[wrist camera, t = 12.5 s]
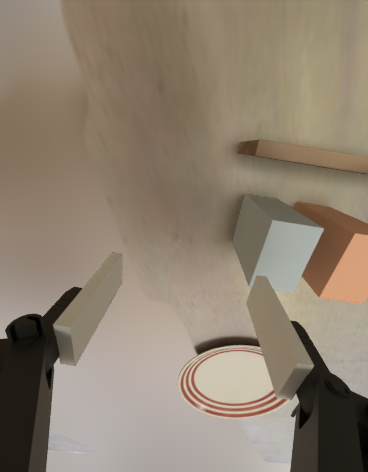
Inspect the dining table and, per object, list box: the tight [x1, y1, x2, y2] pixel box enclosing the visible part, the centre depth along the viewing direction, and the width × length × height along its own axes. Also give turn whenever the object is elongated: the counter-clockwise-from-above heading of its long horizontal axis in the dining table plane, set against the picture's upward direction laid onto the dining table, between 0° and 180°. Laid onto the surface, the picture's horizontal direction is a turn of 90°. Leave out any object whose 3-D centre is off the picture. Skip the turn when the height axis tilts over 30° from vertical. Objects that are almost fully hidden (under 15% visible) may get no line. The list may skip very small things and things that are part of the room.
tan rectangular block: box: [294, 202, 368, 304], centre depth 26 cm, size 8×5×12 cm, turn 172°
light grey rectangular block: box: [232, 194, 324, 293], centre depth 26 cm, size 8×5×12 cm, turn 172°
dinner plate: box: [178, 345, 290, 419], centre depth 46 cm, size 28×27×3 cm
